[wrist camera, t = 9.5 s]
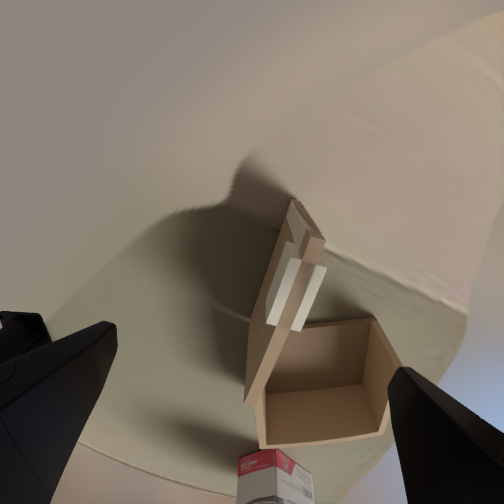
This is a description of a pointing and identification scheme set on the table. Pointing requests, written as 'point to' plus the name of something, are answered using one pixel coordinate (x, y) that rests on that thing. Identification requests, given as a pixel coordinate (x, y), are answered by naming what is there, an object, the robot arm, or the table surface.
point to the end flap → (283, 295)
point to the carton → (327, 385)
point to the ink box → (272, 480)
